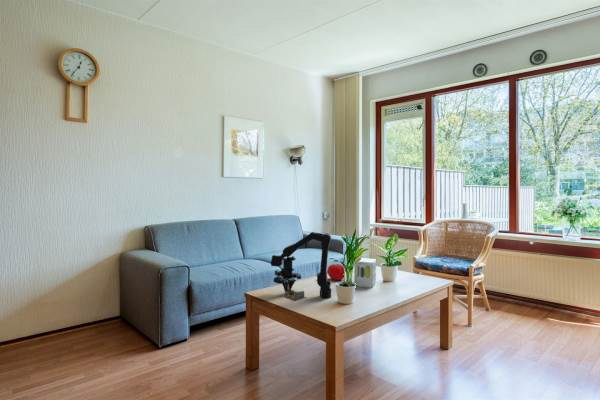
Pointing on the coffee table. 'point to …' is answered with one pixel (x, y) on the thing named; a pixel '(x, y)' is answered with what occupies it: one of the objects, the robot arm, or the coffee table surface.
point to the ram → (289, 291)
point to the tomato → (336, 272)
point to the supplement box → (365, 272)
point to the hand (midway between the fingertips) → (287, 291)
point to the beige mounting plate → (297, 296)
